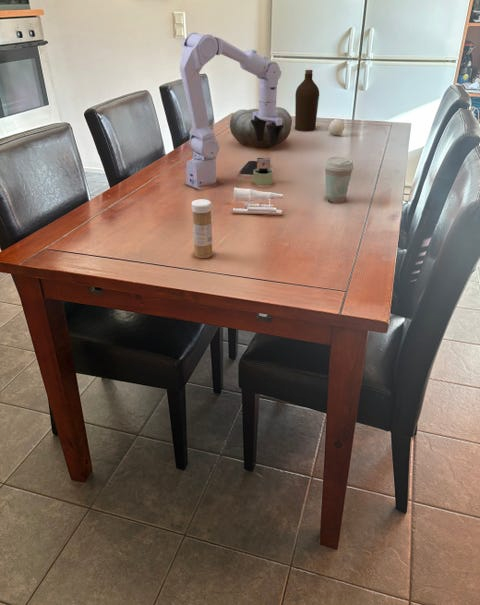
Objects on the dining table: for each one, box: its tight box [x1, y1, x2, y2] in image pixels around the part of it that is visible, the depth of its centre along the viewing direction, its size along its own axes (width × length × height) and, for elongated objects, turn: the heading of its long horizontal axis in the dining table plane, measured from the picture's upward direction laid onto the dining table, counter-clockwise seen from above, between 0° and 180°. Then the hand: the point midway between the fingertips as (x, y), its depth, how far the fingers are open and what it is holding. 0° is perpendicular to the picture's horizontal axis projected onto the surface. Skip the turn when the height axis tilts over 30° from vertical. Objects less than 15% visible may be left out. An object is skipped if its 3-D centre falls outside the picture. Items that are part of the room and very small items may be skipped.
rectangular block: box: [256, 157, 271, 174], centre depth 166 cm, size 2×4×8 cm, turn 86°
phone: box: [239, 160, 257, 176], centre depth 181 cm, size 8×1×15 cm
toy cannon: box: [232, 187, 284, 216], centre depth 146 cm, size 8×14×5 cm
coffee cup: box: [323, 156, 355, 204], centre depth 153 cm, size 9×9×12 cm
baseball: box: [328, 118, 345, 136], centre depth 224 cm, size 7×7×7 cm
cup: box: [252, 168, 274, 186], centre depth 167 cm, size 6×6×4 cm
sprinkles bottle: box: [191, 198, 214, 259], centre depth 120 cm, size 5×5×13 cm
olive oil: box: [294, 69, 320, 132], centre depth 229 cm, size 11×11×25 cm
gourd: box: [229, 106, 293, 149], centre depth 207 cm, size 25×25×17 cm
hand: (266, 143), depth 174 cm, fingers open, 7 cm apart
